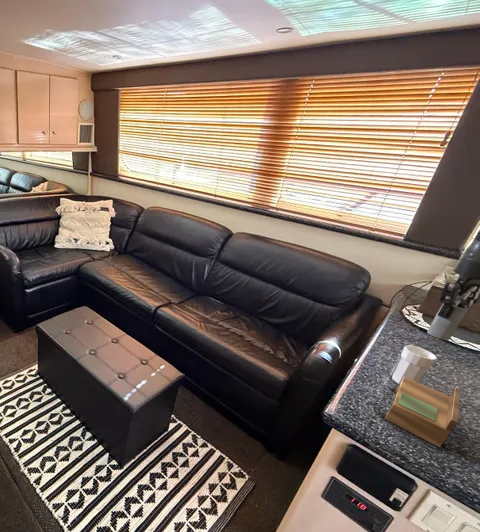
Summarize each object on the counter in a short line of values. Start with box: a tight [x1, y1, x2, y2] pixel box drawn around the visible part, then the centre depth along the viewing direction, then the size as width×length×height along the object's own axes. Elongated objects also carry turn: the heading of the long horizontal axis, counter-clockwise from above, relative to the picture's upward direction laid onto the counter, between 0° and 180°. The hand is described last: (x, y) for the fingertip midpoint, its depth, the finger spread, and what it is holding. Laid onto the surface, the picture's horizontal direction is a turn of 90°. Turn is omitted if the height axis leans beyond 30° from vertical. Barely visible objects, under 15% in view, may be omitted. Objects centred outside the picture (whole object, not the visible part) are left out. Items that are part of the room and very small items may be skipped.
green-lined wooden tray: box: [384, 377, 462, 448], centre depth 82 cm, size 18×10×8 cm, turn 129°
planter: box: [426, 303, 470, 341], centre depth 88 cm, size 4×4×10 cm
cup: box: [391, 344, 438, 385], centre depth 94 cm, size 7×7×11 cm
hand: (449, 316), depth 88 cm, fingers closed on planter, 4 cm apart
